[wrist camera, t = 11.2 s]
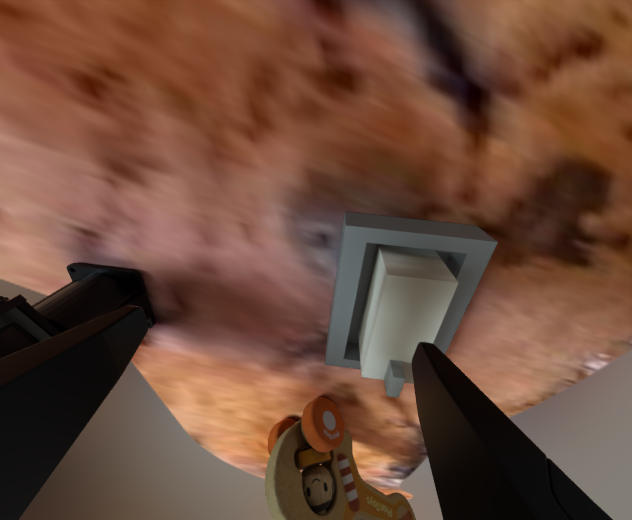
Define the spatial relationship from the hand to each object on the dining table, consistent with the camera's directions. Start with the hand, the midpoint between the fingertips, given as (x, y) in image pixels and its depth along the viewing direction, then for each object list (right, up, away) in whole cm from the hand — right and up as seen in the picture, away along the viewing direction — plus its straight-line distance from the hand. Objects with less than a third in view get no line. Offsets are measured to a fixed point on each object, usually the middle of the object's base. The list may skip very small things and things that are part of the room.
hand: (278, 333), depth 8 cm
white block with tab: (+7, 0, +12) cm, 14 cm away
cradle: (+7, 0, +13) cm, 15 cm away
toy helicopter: (+5, -20, +24) cm, 31 cm away
